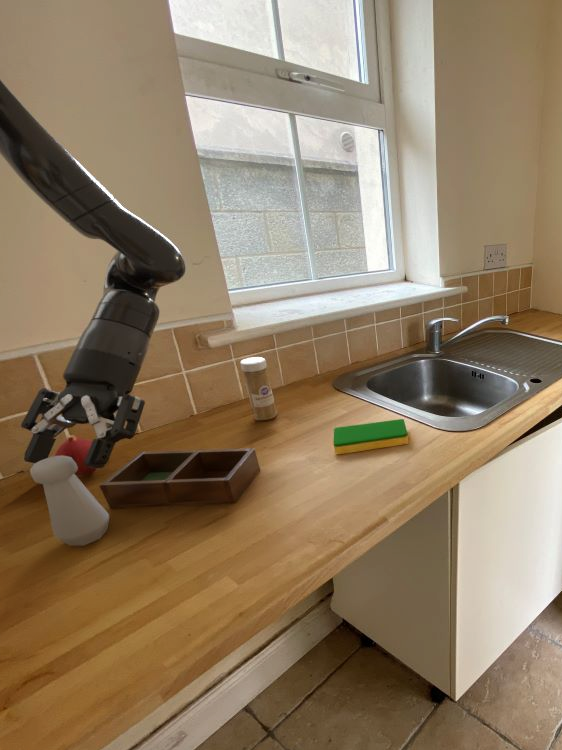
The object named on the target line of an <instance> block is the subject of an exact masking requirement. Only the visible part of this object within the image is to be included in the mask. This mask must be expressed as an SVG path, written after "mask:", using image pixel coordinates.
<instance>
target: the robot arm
mask: <svg viewBox="0 0 562 750" xmlns="http://www.w3.org/2000/svg"><path fill="white" fill-rule="evenodd" d="M0 155H1V157H2V158H3V159H4V160H5V162H6V163H7V165H9V166H10V168H11V169H12V170H13V171H14V173H16V175H17V176H18V177H19V178H20V180H21V181H23V183H24V184H25V185H26V186H27V187H28V188H29V189H30V190H31V191H32V192H33V193H34V194H35V195H36V196H37V197H38V198H39V199H41V201H42V202H43V203H45V204H46V205H47V206H48V207H49V208H50V209H51V210H52V211H53V212H55V214H57V215H58V216H59V217H60V218H61V219H62V220H63V221H65V222H66V223H67V224H68V225H69V226H70V227H72V228H73V229H74V230H75V231H76V232H78V234H80V235H82V236H83V237H85V238H87V239H92V240H100V241H102V242H105V243H107V244H108V245H109V246H110V247H112V248H113V249H115V250H116V251H117V252H115V254H114V255H113V256H112V258H111V259H110V261H109V264H108V267H107V269H106V274H105V279H104V282H103V283H104V284H103V291H102V292H103V293H102V297H101V298H100V300H99V302H98V304H97V306H96V308H95V310H94V312H93V315H92V316H91V319H90V321H89V323H88V324H87V326H86V327H85V329H84V330H83V332H82V333H81V335H80V336H79V339H78V342H77V343H76V345H75V348H74V350H73V352H72V354H71V356H70V358H69V361H68V362H67V365H66V367H65V369H64V372H63V374H62V378H63V380H64V381H65V382H66V386H65V387H64V388H63V389H62V390H61V391H60V392H59V391H54V390H51V389H48V388H45V387H44V388H43V387H42V388H41V389H39V391H38V392H37V394H36V396H35V398H34V399H33V401H32V403H31V405H30V407H29V409H28V411H27V413H26V415H24V418H23V420H22V421H21V423H20V426H21V429H25V430H27V431H30V432H31V433H32V437H31V439H30V441H29V443H28V445H27V447H26V449H25V452H24V457H23V459H24V462H26V463H31V464H35V463H37V462H39V461H41V460H43V459H46V458H49V456H50V453H51V452H52V449H53V447H54V445H55V443H56V440H57V439H56V437H58V436H59V435H60V434H61V433H62V432H64V431H65V430H67V429H70V428H71V429H72V428H73V427H75V426H76V425H86V424H90V426H92V427H93V429H94V432H95V436H96V438H93V439H92V444H91V447H90V449H89V452H88V454H87V456H86V459H85V461H84V465H85V466H87V467H92V468H97V469H103V468H104V466H105V465H106V464H107V463H109V460H110V458H111V454H112V452H113V451H114V448H115V445H116V443H118V442H120V441H122V440H125V439H126V440H127V439H128V440H132V439H133V438H134V437H135V435H136V432H137V429H138V427H139V426H138V425H139V422H140V420H141V417H142V413H143V410H144V408H145V404H146V400H145V399H142V398H140V397H138V396H135V395H133V394H131V393H132V391H133V389H134V387H135V384H136V381H137V379H138V376H139V374H140V373H141V370H142V366H143V364H144V362H145V360H146V357H147V354H148V351H149V345H150V341H151V338H152V335H153V334H154V332H155V331H154V330H155V328H156V326H157V323H158V321H159V318H160V307H159V305H158V304H157V303H156V302H155V301H156V299H157V295H158V292H159V290H160V289H161V288H162V287H165V286H168V285H171V284H174V283H176V282H178V281H179V280H181V279H182V278H183V277H184V276H185V274H186V270H187V266H186V261H185V259H184V256H183V255H182V253H181V251H180V250H179V249H178V248H177V246H176V245H175V244H174V243H173V241H171V240H170V239H168V237H166V236H165V235H164V234H162V233H161V232H160V231H159V230H157V229H155V228H154V227H153V226H151V225H150V224H148V223H147V222H146V221H144V220H143V219H142V218H140V217H139V216H137V215H135V213H132V212H131V211H130V210H128V209H126V208H125V207H124V206H123V205H122V204H121V203H120V202H119V201H118V200H117V199H116V198H115V197H114V195H113V194H112V193H111V192H109V190H107V188H106V187H104V186H103V184H101V183H100V181H98V180H97V179H96V178H95V176H93V174H91V173H90V171H88V170H87V169H86V168H85V167H84V166H83V165H82V164H81V162H79V161H78V160H77V159H76V158H75V157H74V156H73V155H72V154H71V153H70V152H69V151H68V150H67V149H66V148H65V147H64V146H63V145H62V144H61V143H60V142H59V141H57V140H56V138H54V136H53V135H52V134H51V133H49V131H48V130H47V129H46V128H45V127H44V126H43V125H42V124H41V123H40V122H39V121H38V120H37V119H36V118H35V116H33V115H32V113H31V112H30V111H29V110H28V109H27V108H26V107H25V105H23V103H21V101H20V100H19V99H18V98H17V97H16V96H15V94H13V92H12V91H11V90H10V89H9V87H8V86H7V85H6V84H5V83H4V82H3V80H1V79H0ZM40 415H42V416H41V418H40V420H39V422H38V421H37V419H38V417H39V416H40ZM60 415H61V416H60ZM52 425H53V426H52ZM125 425H126V426H125ZM51 426H52V427H51Z"/></svg>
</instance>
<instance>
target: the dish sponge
mask: <svg viewBox="0 0 562 750" xmlns="http://www.w3.org/2000/svg"><path fill="white" fill-rule="evenodd" d="M407 444H409V434H408V431H407V427H406V423H405V419H403V418H400V419H392V420H384V421H377V422H369V423H362V424H353V425H345V426H338V427H335V428H333V449H334V454H335V455H342V454H350V453H356V452H357V453H358V452H363V451H370V450H377V449H382V448H383V449H384V448H390V447H396V446H403V445H407Z"/></svg>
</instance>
